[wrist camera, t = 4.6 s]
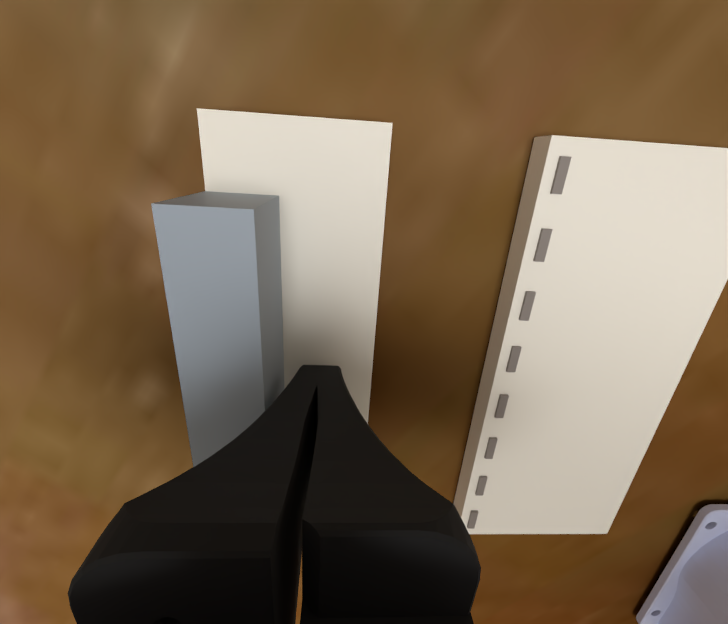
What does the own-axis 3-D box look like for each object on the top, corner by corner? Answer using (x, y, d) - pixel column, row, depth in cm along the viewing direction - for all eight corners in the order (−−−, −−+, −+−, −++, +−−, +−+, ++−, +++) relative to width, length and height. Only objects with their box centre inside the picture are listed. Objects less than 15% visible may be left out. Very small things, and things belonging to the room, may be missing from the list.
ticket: (593, 514, 17) (608, 535, 16) (451, 513, 17) (457, 536, 16) (751, 153, 11) (791, 152, 10) (534, 137, 11) (553, 134, 10)
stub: (357, 515, 17) (361, 617, 13) (247, 515, 16) (218, 619, 13) (388, 125, 10) (411, 107, 7) (210, 113, 10) (132, 86, 6)
